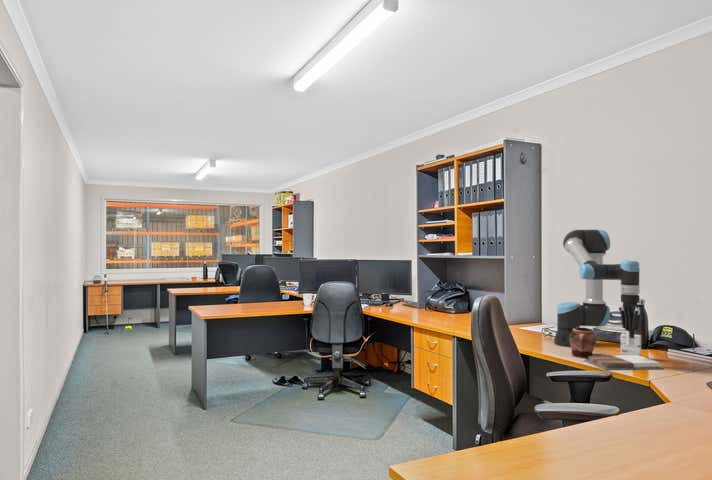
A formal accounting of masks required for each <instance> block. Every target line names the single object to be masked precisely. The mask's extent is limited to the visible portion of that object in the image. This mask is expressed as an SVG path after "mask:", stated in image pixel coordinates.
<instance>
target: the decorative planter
mask: <svg viewBox="0 0 712 480" xmlns="http://www.w3.org/2000/svg"><path fill="white" fill-rule="evenodd" d="M596 337H597V336H595V330H594V329H593V328H588V327H580V328H573V329H572V332H571V334H570V337H569V341H570V344H571V347H570V348H571V355H572V356H573V357H576V358H586V359H588V356H594V355H593V352H594V350H595V348H596V345H597V338H596Z"/></svg>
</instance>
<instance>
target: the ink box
mask: <svg viewBox="0 0 712 480" xmlns="http://www.w3.org/2000/svg"><path fill="white" fill-rule="evenodd" d="M620 355H639V356H642V335H641V334H634V345H626V333H621V334H620Z"/></svg>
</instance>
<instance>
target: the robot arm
mask: <svg viewBox="0 0 712 480" xmlns="http://www.w3.org/2000/svg"><path fill="white" fill-rule="evenodd" d="M562 245H563V248H564V249H565V251H566V252H567V253H568V254H570V255H571V256H572V257H573V259H574V260H575V263H577V264H578V266H579V270H578V272H579V277H580V278H581V279H583V280H585V298H584V300H583V301H582V305H581V303H580V302H578V301H577V302H575V301H574V302H569V301H568V302H562V303H560V304H558V305H557V310H556V314H557V315H556V316H557V317H556V318H557V320H556V322H557V326H556V328H557V330H556V333H555V335H554V338H553V344H555V345H558V346H562V347H570V348H571V344H570V341H569V337H570V334H571V332H572V329H573V328H581V327H596V328H598V327H605V326H607V325H608V324H609V322H610V319H611V309H610V306H608V305H607V304H606V302H605V300H604V299H603V298H604V295H603V293H604V292H603V291H604V287H603V285H604V280H605V281H607V280H608V281H612V280H613V281H620V293H621V294H620V302H621V303H622V306H621V307H619V306H618V309H619V310H618V311H619V312H620V319H621V326H622V329H624V330H625V334H626V345H634V335H635V332H636V331H638V330H639V326H640V322H641V321H640V319H641V315H642V313H643V311H642V310H639V307H638V304H639V303H640V295H639V294H640V292H641V291H640V271H641V270H640V268H641V267H640V263H639V261H637V260H622V261H621V262H620V263H613V264H610V263H609V264H608V263H606V264H605V263H604V258H603V257H604V256H605V255H606V254H607V253H606V252H607V251H609V250H610V247H611V239H610V236H609V234H608V232H607V231H606V230H604V229H574V230H571V231H570V232H568V233H567V234H565V236H564V238H563V242H562Z"/></svg>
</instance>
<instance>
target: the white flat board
mask: <svg viewBox="0 0 712 480" xmlns="http://www.w3.org/2000/svg"><path fill="white" fill-rule="evenodd" d="M613 356H615V357H617V358H620V359H623V360H626V361H628V362H631V363H633V367H659V366H660V362H659V361H656V360H654V359H650V358H648V357H644V356H642V355H641V356H639V355H621V354H620V355H619V354H618V355H613Z"/></svg>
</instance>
